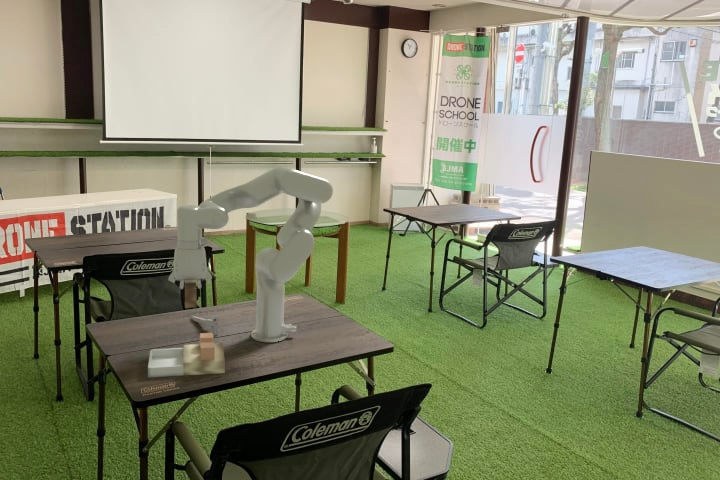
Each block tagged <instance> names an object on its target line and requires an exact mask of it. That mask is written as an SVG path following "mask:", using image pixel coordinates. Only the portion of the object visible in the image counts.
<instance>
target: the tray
mask: <svg viewBox="0 0 720 480" xmlns="http://www.w3.org/2000/svg"><path fill="white" fill-rule="evenodd" d="M183 361H184V347H172V348H171V347H170V348H153V349H150V351H149V356H148V364H147V378H162V377H179V376H185V375H184V365H183Z"/></svg>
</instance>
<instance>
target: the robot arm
mask: <svg viewBox="0 0 720 480" xmlns="http://www.w3.org/2000/svg"><path fill="white" fill-rule="evenodd" d="M333 189H334V187H333V186H332V184H331V183H330V181H329V180H327V179H325V178H323V177H320V176H316V175H313V174H309V173H305V172H302V171H300V170H298V169H295V168H292V167H288V166H283V165H282V166H276V167H274V168H272V169H270V170H268V171H267V172H265V173H263V174H260V175H259V176H257V177H255V178H254V179H251V180H249V181H248V182H247V181H246V182H245V183H243V184H240V185H237V186H234V187H231V188H229V189H226V190H224V191H221V192H218V193H217V194H215V195H213V196H212V197H209V198H207V199H206V200H203V201H202V202H201V203H200V204H199V205H194V204H193V205H192V204H185V205H180V206H179V207H177V211H176V222H177V226H176V227H177V247H175V248H174V256H173V270H172V272H171V273H170V275H169V276H168V281H169V282H171V283H174V284H175V285H176V286H177V287H178V288H179V290H180V298H182V302H185V280H196V298H197V301H199V298H201V296H202V295H201V292H202V290H201V289H202V287H203V286H204V285H205V284H206V283H207V282H209V281H211V280H212V279H213V276H212V274H211V273H210V272H209V270H208V268H207V253H206V249H205V247H204V246H206V245H208V241H207V240H204V239H203V229H207V230H208V229H209V230H220V229H222V228H224V227H225V226H226V225H227V224H228V222H229V213H231V212H234V211H237V210H240V209H252V208H257V207H259V206H261V205H263V204H265V203H266V202H269V201H271V200H272V199H274V198H276V197H278V196H279V195H282V194H285V195H288V196H291V197H294V198H298V203H297V206H296V209H295V210H294V212H293V213H292V215H290V217H289V219H287V221H286V222H285V223H284V225H283V226H282V227H281V228H280V230H279V232H278V233H277V236H276V241H277V244H278V246H279V247H280V248H281V249H280V250H279V249H277V248H274V247H266V248H263V249H261V250H260V251H259V252H258V254H257V255H256V258H255V264H254V265H255V266H254V267H255V273H256V276H255V277H256V308H255V309H256V312H255V313H256V314H255V317H256V318H255V320H256V321H255V329H253V330H252V331H251V335H250V336H251V338H252V339H253V340H255V341H257V342H262V343H278V341H279V342H282V341H285V340H287V338H288V332H298V331H297V329H298V327H297V325H293V324H290V323H289V324H285V322H284V320H285V319H284V315H285V313H284V312H285V294H286V293H285V292H286V291H285V283H287V282H288V281H290V280H292V278H294V276H296V274H297V273H298V271H299V270H300V269H301V267H302V266H303V265H304V264H305V262H306V261H307V260H308V258H309V257H310V256H311V254H312V252H313V251H314V247H315V238H314V235H313V233H312V232H311V231H312V230H313V228H314V227H315V226H316V225H317V222H318V221H319V218H320V216H321V213H322V204H325V203H327V202H329V201H330V200H331V199H332V196H333V193H334V190H333Z"/></svg>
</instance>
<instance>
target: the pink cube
mask: <svg viewBox="0 0 720 480" xmlns="http://www.w3.org/2000/svg"><path fill="white" fill-rule="evenodd" d="M211 342H214V334H213V333H212V332H203V333H202V332H201V333H199V344H200V350H201V343H211Z"/></svg>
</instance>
